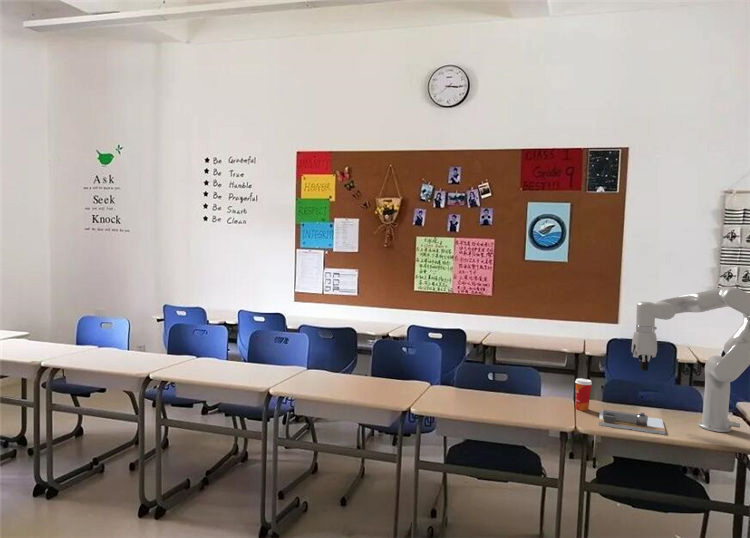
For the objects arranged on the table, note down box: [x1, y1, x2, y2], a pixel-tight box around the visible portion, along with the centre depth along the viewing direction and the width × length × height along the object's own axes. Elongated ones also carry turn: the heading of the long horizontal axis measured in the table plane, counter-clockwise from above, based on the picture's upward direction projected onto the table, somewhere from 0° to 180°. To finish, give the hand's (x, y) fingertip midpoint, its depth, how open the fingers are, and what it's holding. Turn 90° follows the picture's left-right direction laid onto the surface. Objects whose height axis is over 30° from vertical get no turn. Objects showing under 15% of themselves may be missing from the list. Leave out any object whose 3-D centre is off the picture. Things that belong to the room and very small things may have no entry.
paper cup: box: [574, 378, 593, 412], centre depth 279 cm, size 8×8×14 cm
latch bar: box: [602, 408, 649, 426], centre depth 256 cm, size 18×5×5 cm, turn 67°
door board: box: [598, 410, 666, 436], centre depth 260 cm, size 26×20×4 cm
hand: (644, 370), depth 265 cm, fingers closed
